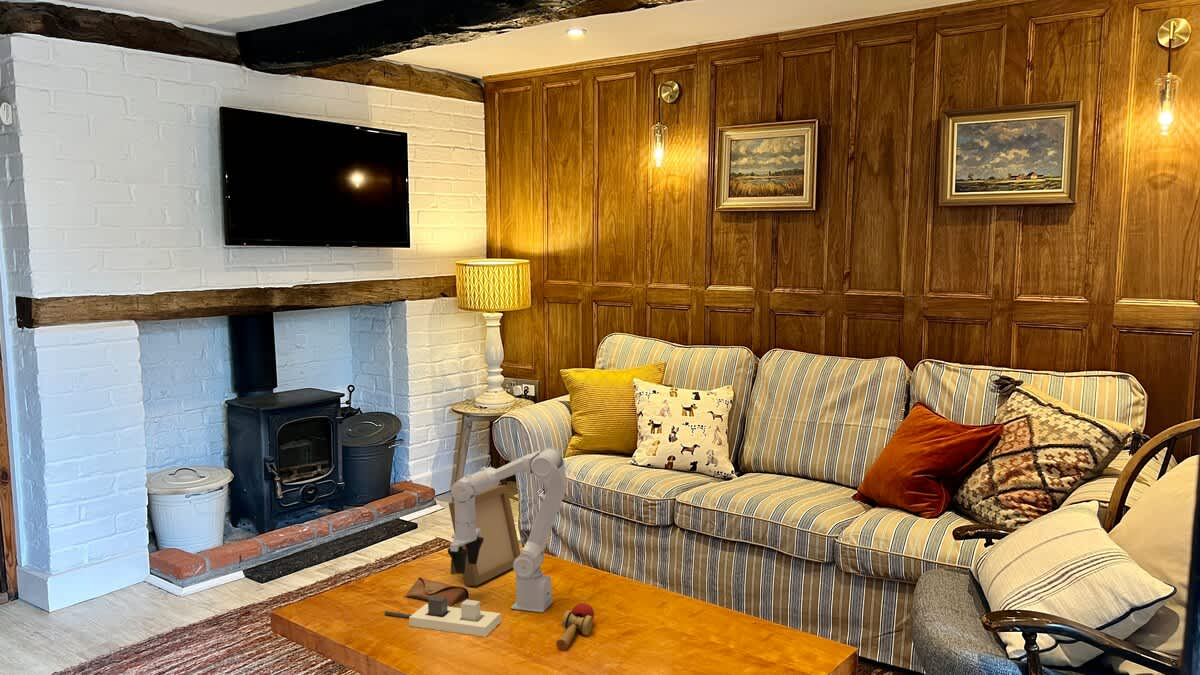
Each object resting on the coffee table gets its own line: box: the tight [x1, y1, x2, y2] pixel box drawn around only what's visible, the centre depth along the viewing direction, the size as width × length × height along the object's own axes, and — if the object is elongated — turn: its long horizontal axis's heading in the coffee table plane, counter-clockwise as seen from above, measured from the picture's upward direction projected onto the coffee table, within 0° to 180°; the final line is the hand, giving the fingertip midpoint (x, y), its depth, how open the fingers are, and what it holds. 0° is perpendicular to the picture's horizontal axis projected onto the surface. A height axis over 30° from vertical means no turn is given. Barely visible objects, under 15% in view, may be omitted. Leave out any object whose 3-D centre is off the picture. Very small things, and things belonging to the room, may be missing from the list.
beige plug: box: [460, 599, 481, 622], centre depth 229 cm, size 4×3×6 cm
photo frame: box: [448, 484, 521, 587], centre depth 267 cm, size 15×22×25 cm
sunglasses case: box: [403, 577, 470, 607], centre depth 249 cm, size 18×7×7 cm, turn 62°
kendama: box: [556, 602, 595, 651], centre depth 223 cm, size 8×6×18 cm
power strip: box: [384, 595, 502, 638], centre depth 232 cm, size 32×9×6 cm, turn 72°
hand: (466, 568), depth 245 cm, fingers open, 7 cm apart
